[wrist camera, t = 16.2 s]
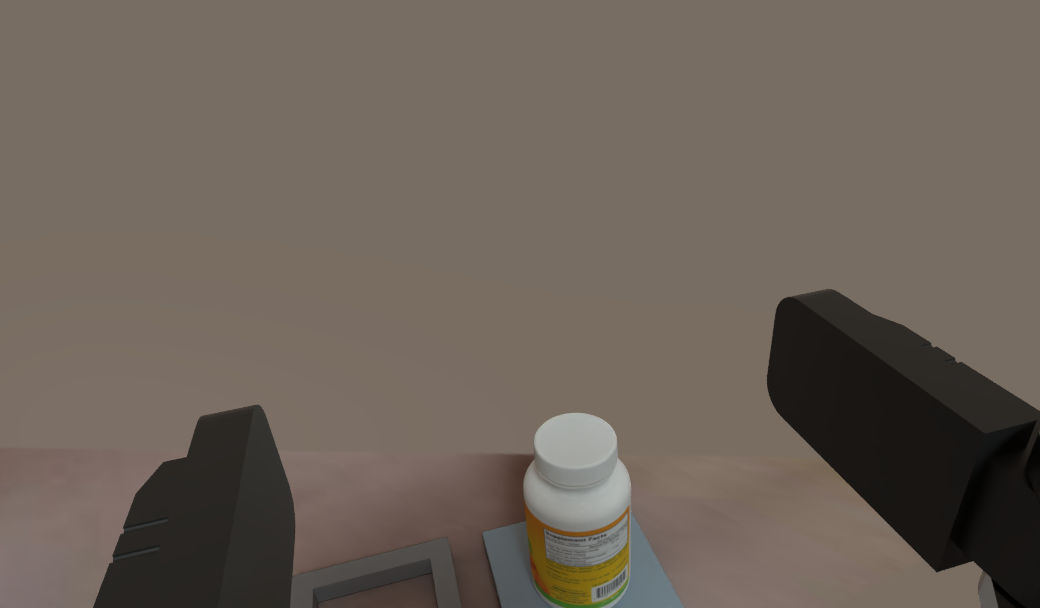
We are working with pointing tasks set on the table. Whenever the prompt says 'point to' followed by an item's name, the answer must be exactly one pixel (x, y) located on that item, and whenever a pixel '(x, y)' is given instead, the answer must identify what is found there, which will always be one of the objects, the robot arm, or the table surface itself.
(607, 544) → the supplement bottle
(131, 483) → the table surface
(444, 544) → the collar
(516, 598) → the board
